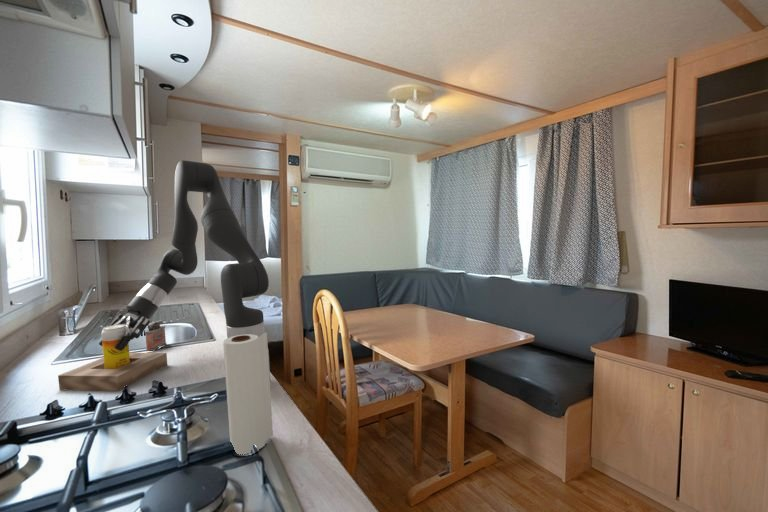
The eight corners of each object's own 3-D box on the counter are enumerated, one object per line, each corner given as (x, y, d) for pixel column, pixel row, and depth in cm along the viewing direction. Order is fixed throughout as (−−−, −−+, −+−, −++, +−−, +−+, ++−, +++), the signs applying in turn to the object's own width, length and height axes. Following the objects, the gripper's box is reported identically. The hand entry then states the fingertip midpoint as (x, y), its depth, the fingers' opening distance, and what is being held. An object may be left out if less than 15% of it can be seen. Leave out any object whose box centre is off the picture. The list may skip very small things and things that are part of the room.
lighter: (151, 352, 125) (149, 324, 125) (143, 352, 126) (141, 324, 125) (169, 345, 133) (167, 319, 132) (161, 344, 134) (159, 319, 133)
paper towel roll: (227, 460, 63) (218, 344, 61) (234, 441, 69) (227, 334, 67) (268, 454, 64) (261, 340, 63) (273, 436, 70) (266, 331, 68)
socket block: (167, 365, 112) (166, 353, 111) (118, 390, 94) (117, 376, 94) (116, 364, 114) (115, 352, 113) (59, 389, 96) (58, 375, 96)
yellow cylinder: (120, 380, 101) (116, 329, 100) (100, 380, 101) (95, 330, 100) (136, 372, 107) (131, 323, 106) (116, 372, 107) (112, 324, 106)
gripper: (125, 293, 112) (85, 338, 103) (151, 295, 106) (111, 344, 96) (144, 306, 117) (107, 350, 108) (170, 309, 111) (134, 356, 101)
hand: (109, 347), depth 102 cm, fingers open, 8 cm apart
